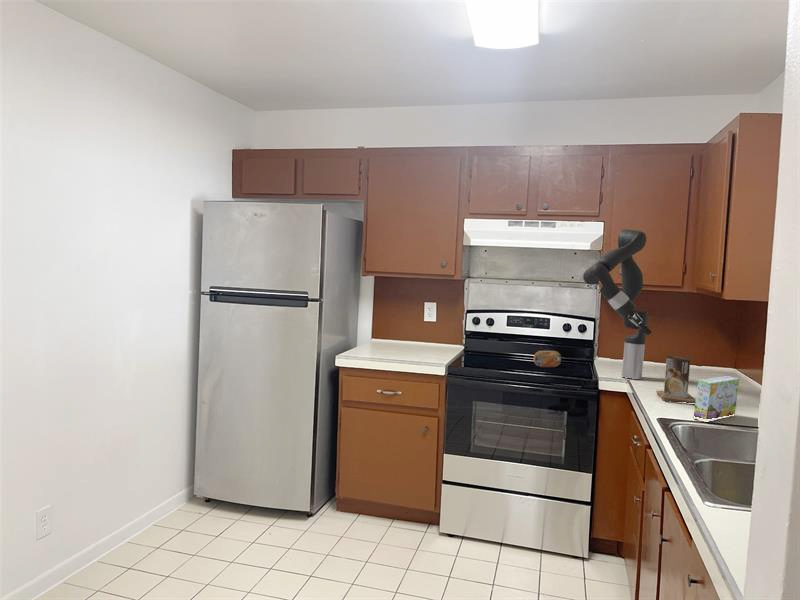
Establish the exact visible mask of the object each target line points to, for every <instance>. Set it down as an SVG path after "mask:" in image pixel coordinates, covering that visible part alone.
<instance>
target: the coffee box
mask: <svg viewBox="0 0 800 600" xmlns="http://www.w3.org/2000/svg"><path fill="white" fill-rule="evenodd" d="M690 365H691V359H690V358H689V357H680V356H673V355H666V360H665V370H664V371H665V374H664V384H663V391H664V396H672V397H680V398H687V395H688V394H689V380H690V368H691V366H690Z"/></svg>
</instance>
